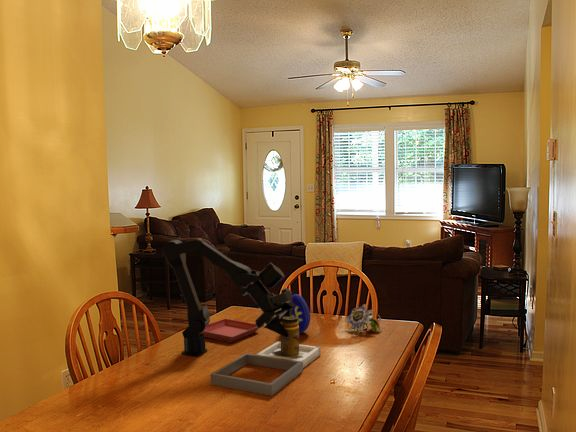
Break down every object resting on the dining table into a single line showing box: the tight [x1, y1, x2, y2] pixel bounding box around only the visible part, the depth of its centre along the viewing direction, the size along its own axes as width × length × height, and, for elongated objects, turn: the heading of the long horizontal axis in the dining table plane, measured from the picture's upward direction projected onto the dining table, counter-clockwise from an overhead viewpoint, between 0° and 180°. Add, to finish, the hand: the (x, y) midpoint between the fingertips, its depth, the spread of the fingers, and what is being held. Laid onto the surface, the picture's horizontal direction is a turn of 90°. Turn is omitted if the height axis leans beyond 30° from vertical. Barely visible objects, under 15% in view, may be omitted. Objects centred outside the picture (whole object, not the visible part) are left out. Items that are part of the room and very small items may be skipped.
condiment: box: [271, 316, 304, 358], centre depth 170 cm, size 7×8×12 cm
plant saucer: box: [202, 318, 259, 343], centre depth 199 cm, size 18×18×3 cm
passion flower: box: [344, 303, 382, 334], centre depth 202 cm, size 11×11×12 cm
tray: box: [255, 340, 321, 369], centre depth 171 cm, size 16×15×2 cm
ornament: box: [289, 293, 311, 334], centre depth 199 cm, size 11×9×15 cm
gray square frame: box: [209, 352, 304, 397], centre depth 154 cm, size 20×20×3 cm
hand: (292, 333), depth 170 cm, fingers closed on condiment, 6 cm apart
